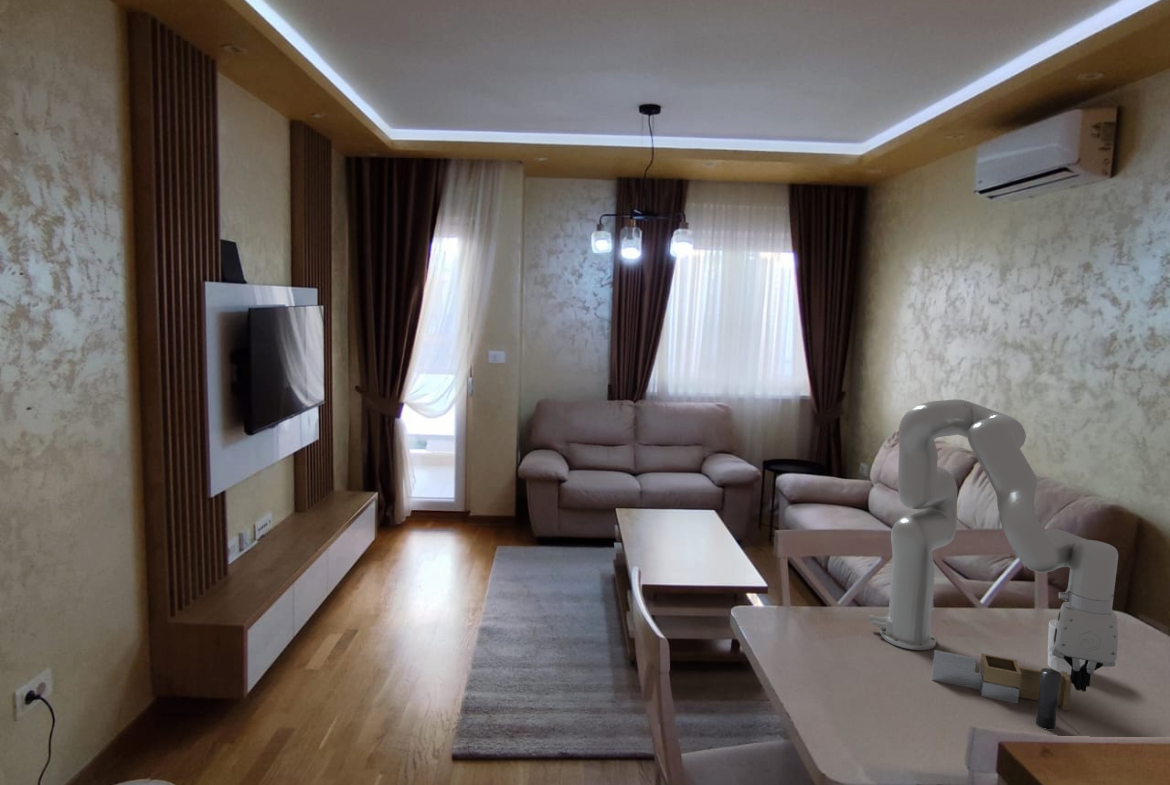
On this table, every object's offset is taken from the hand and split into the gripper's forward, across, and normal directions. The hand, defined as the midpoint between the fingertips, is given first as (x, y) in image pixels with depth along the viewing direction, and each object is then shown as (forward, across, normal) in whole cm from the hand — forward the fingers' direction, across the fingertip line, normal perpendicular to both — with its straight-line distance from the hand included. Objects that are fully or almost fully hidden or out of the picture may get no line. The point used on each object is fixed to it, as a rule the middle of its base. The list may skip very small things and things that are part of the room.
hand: (1079, 687), depth 145 cm
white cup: (+5, +2, +19) cm, 20 cm away
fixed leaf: (+5, -19, 0) cm, 19 cm away
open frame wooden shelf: (+4, -10, 0) cm, 11 cm away
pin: (+4, -7, -10) cm, 13 cm away
